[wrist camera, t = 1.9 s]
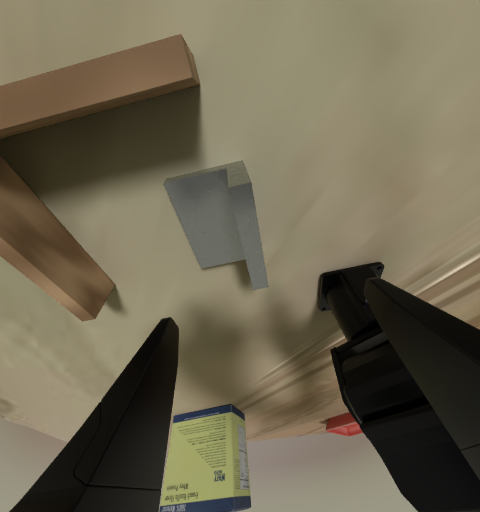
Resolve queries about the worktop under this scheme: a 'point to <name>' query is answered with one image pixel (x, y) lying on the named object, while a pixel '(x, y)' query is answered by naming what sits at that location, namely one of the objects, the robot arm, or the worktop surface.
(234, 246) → the bracket
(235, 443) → the protein box
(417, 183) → the worktop surface
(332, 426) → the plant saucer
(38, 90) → the wooden corner frame
